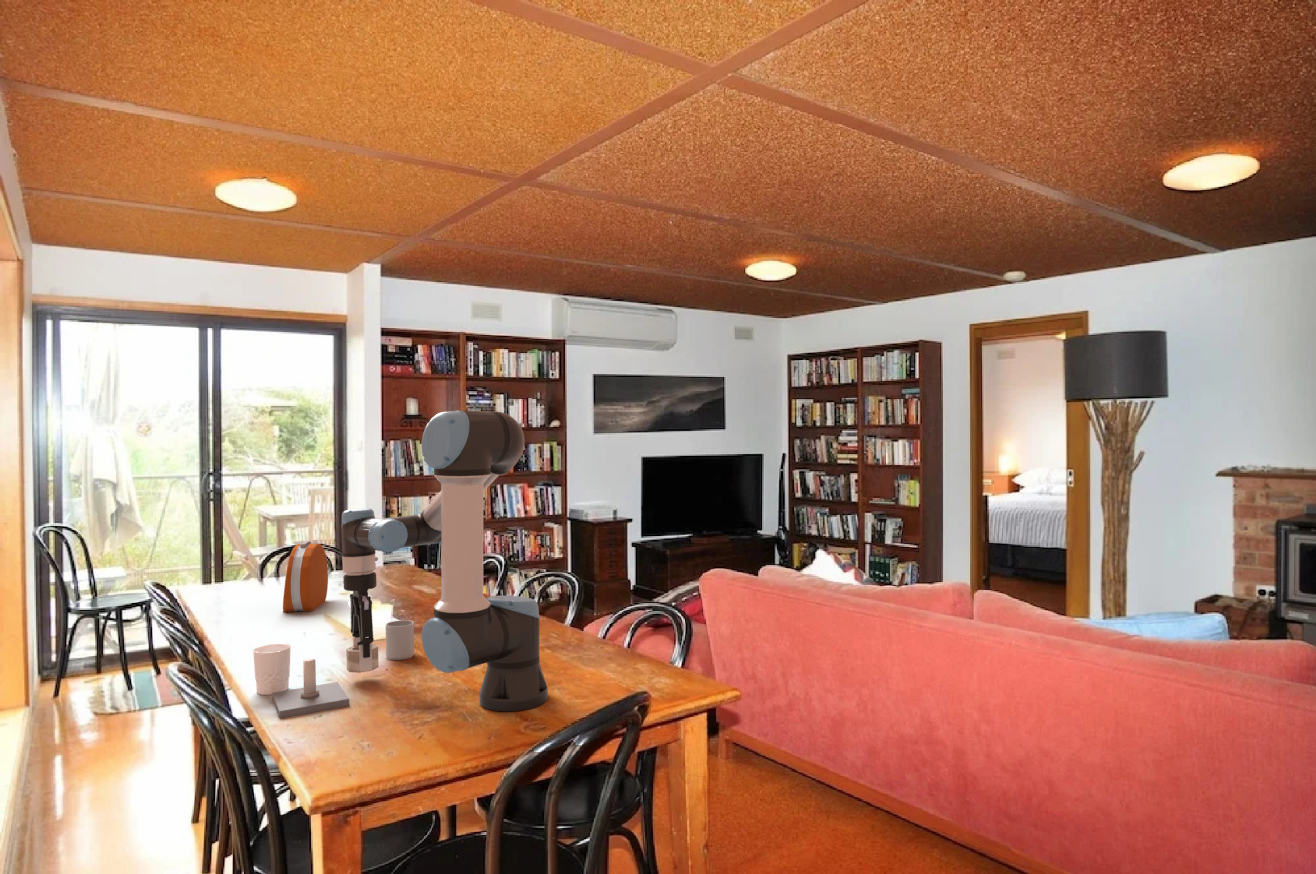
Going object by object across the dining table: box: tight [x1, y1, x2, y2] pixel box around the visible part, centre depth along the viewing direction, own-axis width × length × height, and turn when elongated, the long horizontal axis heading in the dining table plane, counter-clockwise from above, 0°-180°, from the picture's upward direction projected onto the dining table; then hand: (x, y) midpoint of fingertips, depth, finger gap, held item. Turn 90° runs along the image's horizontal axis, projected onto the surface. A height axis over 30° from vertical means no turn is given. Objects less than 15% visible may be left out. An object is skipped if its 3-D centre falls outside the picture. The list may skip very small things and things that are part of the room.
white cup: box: [252, 643, 291, 696], centre depth 187 cm, size 8×8×10 cm
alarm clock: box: [282, 540, 329, 613], centre depth 276 cm, size 22×10×23 cm, turn 6°
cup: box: [385, 619, 415, 661], centre depth 215 cm, size 7×10×9 cm
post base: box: [271, 658, 350, 719], centre depth 179 cm, size 14×14×10 cm
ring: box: [345, 643, 380, 674], centre depth 194 cm, size 7×7×5 cm
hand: (362, 667), depth 194 cm, fingers closed on ring, 7 cm apart
